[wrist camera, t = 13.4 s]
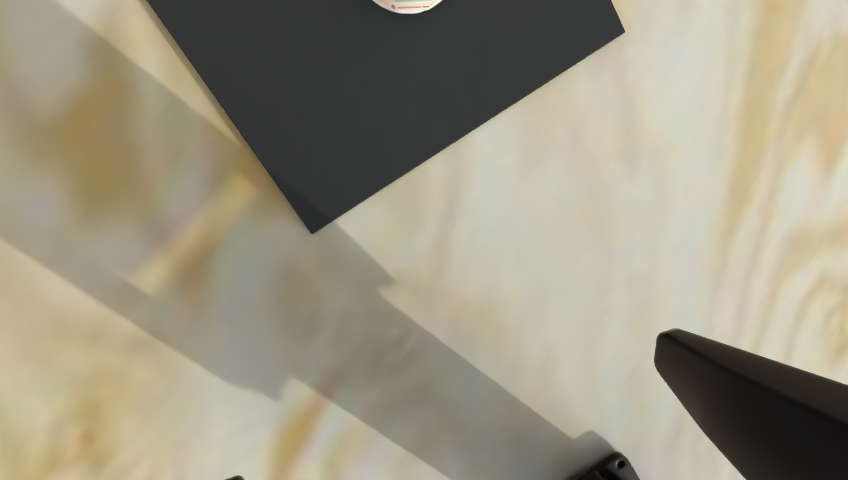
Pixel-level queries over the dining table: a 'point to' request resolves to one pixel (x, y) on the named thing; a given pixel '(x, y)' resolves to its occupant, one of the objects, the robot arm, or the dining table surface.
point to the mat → (373, 80)
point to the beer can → (407, 5)
